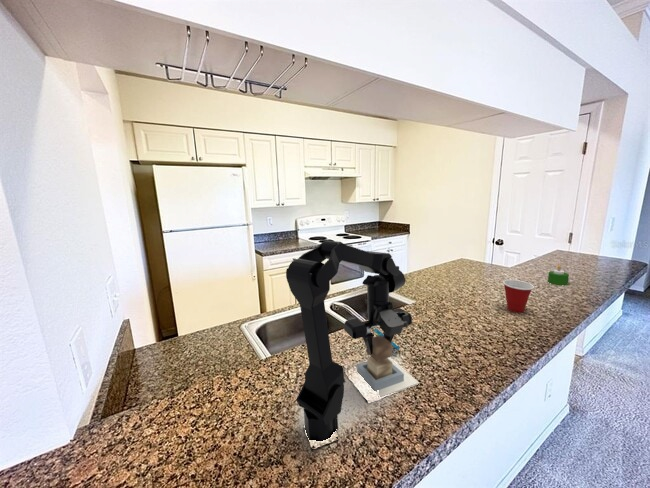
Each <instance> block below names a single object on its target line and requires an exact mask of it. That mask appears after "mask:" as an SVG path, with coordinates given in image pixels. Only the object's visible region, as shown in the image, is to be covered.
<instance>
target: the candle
mask: <svg viewBox="0 0 650 488" xmlns="http://www.w3.org/2000/svg"><path fill="white" fill-rule="evenodd" d="M569 277H570V274H569V273H567V272H565V271H564V270H562V266H561V265H560V264H558V265H557V269H553V270H551V271H548V275H547V283H548V282H549V283H548V284H550V283H551V284H550V285H555V286H562V285H564V286H568V284H569Z"/></svg>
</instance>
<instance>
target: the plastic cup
mask: <svg viewBox="0 0 650 488" xmlns="http://www.w3.org/2000/svg"><path fill="white" fill-rule="evenodd" d="M502 283H503V285H504V286H503V287H504V293H505V299H506V300H505V301H506V307H507V309H508V311H510V312H513V313H524V312H525V310H526V306H527V303H528V300H529V299H530V294H531V293H532V290H533V289H534V288H535V286H534V285H533V284H531V283H530V282H527V281H523V280H519V279H505V280H502Z"/></svg>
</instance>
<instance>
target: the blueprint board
mask: <svg viewBox="0 0 650 488" xmlns="http://www.w3.org/2000/svg"><path fill="white" fill-rule="evenodd" d="M388 359H389V360H390V361H391V362H392V375H389V376H386V377H383V378H380V379H377V380H375V379H374V378H373V376H372V375H371V374H370V373H369V372H368V370H367V361H364V362H360V363H358V364H356V366H357V372H358V373H359V374H360V375H361V376H362V377H363V378H364V380H365V381H366V382H367V383H368V384H369V385H370V386H371V388H372V389H373V390H374V391H376V392H377V390H379V395H380V397H382V396H385V395H388V394H391V393H394V392H398V391H400V390H404V389H407V388H409V387H412V386H415V385H418V384H419V385H420V382H419V381H418V380H417V379H416V378H415V377H413V376H412V374H410V373H409V372H408V371H407V370H405V368H403V367H402V366H401V365H400V364H399V363H397V362H396V361H395V360H394V359H392V358H391V357H388ZM419 385H418V386H419ZM378 397H379V396H378Z"/></svg>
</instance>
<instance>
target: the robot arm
mask: <svg viewBox="0 0 650 488" xmlns="http://www.w3.org/2000/svg"><path fill="white" fill-rule="evenodd" d="M325 260H327V261H326V262H324V261H325ZM341 262H342V263H347V264H351V265H355V266H358V267H359V269H361V270H362V271H364V272H366V273H371V274H375V275H370V274H368V275H367V276H366V278H365V279H364V280H363V281H362V285H364V286H366V295H367V299H364V303H365V304H366V305H367V313H364V314H365V318H367V320H365V321H361V320H360V319H359V318H357V317H356V318H353V319H352V318H351V319H347V320H345V321H344V324H343V330H344V331H345V332H346V334H348V335H349V336H350V338H352V339H354V340H358V339H361V338H362V340H363V342H364V345H365V347H367V349H368V351H369V353H370V354H372V351H373V346H372V338H373V337H375V334H374V333H373V332H372V328H375V327H379V328H380V329H381V330H382V332H383V333H382V334H383V335H384V338H386V339H387V340H388V341H390V342H393V338H394V337H395V335H400V334H402V332H403V329H404V328H407V327H408V326H410V325H412V324H413V317H412V315H411V313H410V312H408V311H406V310H404V309H402V308H400V307H399V308H398V307H397V308H394V309H393V307H394V306H393V302H390V294H391V293H394V292H395V291H397V290H399V289H400V288H402V287H404V285H405V284H406V281H407V280H406V277H405V275H404V273H403V272H402V271H401V270H400V266H398V265H396V262H395V261H394V259H393V256H392V255H391V253H389V252H379V251H369V250H363V249H361V248H359V247H358V248H357V247H354V246H350V245H347V244H345V243H343V242H342V241H335V240H325V241H323V242H321V243H320V244H319V245H318V246H317V247H315V248H313V249H311V250H309V251H306V252H305V253H302V255H300V256H299V257H298V258H296V259H294V260H292V262H291V263H290V264H289V266H288V267H287V268H286V270H285V277H286V281H287V283H288V287H289V289H290V292H291V294H292V295H293V297H294V299H296V301H297V302H298V304H299V306H300V313H301V318H302V320H301V321H302V325H303V331H304V338H305V345H306V351H307V357H308V366H307V368H306V371H305V372H304V383H303V385H302V387H301V389H300V391H299V393H298V394H297V397H296V403H297V404H298V406H299V407H301V408H303V416H304V417H303V419H304V425H305V430H306V433H307V436H308V438H309V440H316V441H323V440H326V439H328V438H330V437H331V435H332V434H333V432H335V431H337V430H336V429H338V430H339V421H338V420H339V417H338V415H340V414H341V412H342V405H343V401H344V396H345V395H344V394H345V383H346V379H345V374H344V370H345V369H344V367H343V365H341V364H339V363H337V362H335V361H333V357H332V356H333V355H332V349H331V342H330V336H329V327H328V320H327V312H326V306H325V300H326V299H327V297H328V294H329V292H330V290H331V288H330V287H331V286H330V285H331V284H330V283H331V281H332V280H333V278H334V277H336V275H337V274H338V272H339V267H340V263H341ZM367 349H366V350H367Z"/></svg>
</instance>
